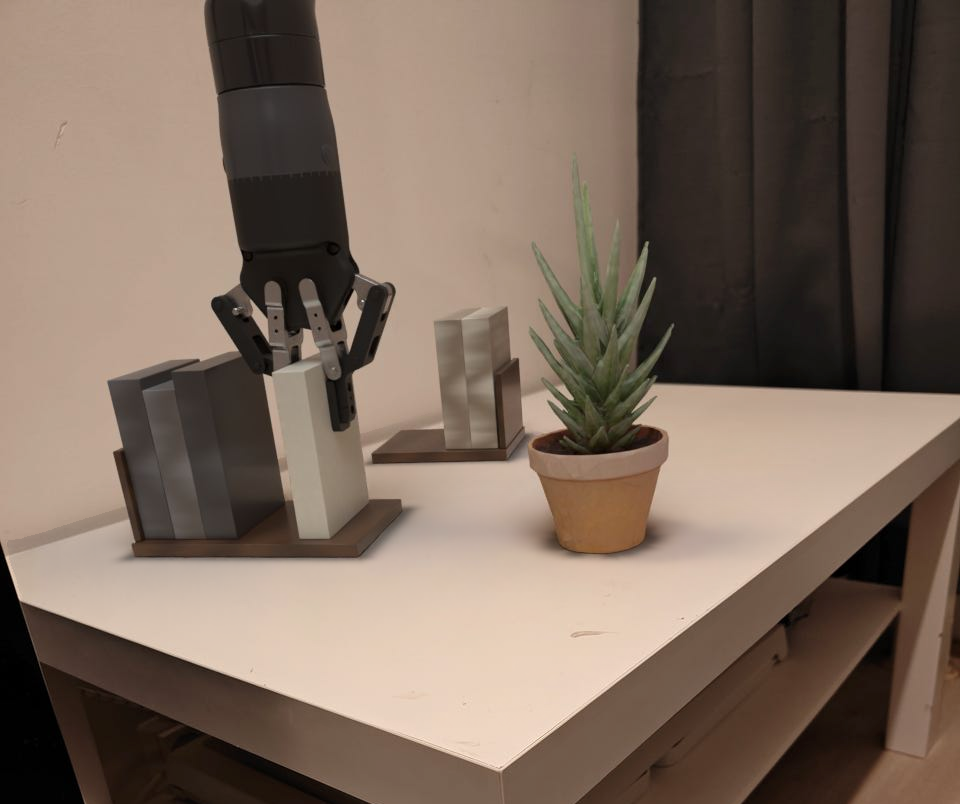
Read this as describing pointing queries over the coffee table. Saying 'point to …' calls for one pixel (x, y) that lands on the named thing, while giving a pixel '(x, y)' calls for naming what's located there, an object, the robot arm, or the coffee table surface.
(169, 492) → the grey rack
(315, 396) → the ivory book
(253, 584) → the coffee table surface
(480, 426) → the ivory shelf
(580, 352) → the potted plant
